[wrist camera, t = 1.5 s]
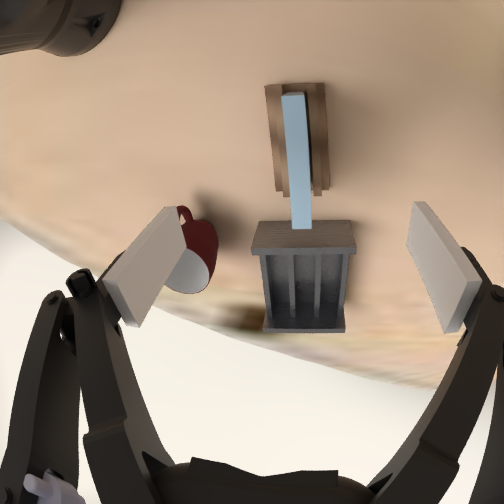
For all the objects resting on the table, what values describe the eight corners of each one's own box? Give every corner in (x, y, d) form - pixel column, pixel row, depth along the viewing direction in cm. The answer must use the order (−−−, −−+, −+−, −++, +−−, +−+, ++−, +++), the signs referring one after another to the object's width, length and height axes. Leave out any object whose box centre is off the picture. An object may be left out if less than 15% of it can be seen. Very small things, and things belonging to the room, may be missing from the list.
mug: (163, 202, 41) (131, 236, 33) (208, 186, 39) (182, 219, 31) (192, 257, 47) (170, 297, 38) (236, 246, 44) (220, 289, 36)
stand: (265, 86, 30) (262, 86, 27) (322, 83, 28) (325, 83, 26) (276, 188, 37) (274, 197, 35) (328, 187, 36) (330, 196, 34)
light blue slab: (287, 92, 29) (281, 96, 19) (302, 91, 29) (304, 95, 19) (295, 183, 36) (292, 229, 26) (309, 183, 35) (311, 228, 26)
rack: (258, 221, 41) (251, 248, 35) (348, 220, 38) (356, 247, 33) (268, 302, 50) (263, 332, 44) (341, 302, 47) (344, 332, 41)
